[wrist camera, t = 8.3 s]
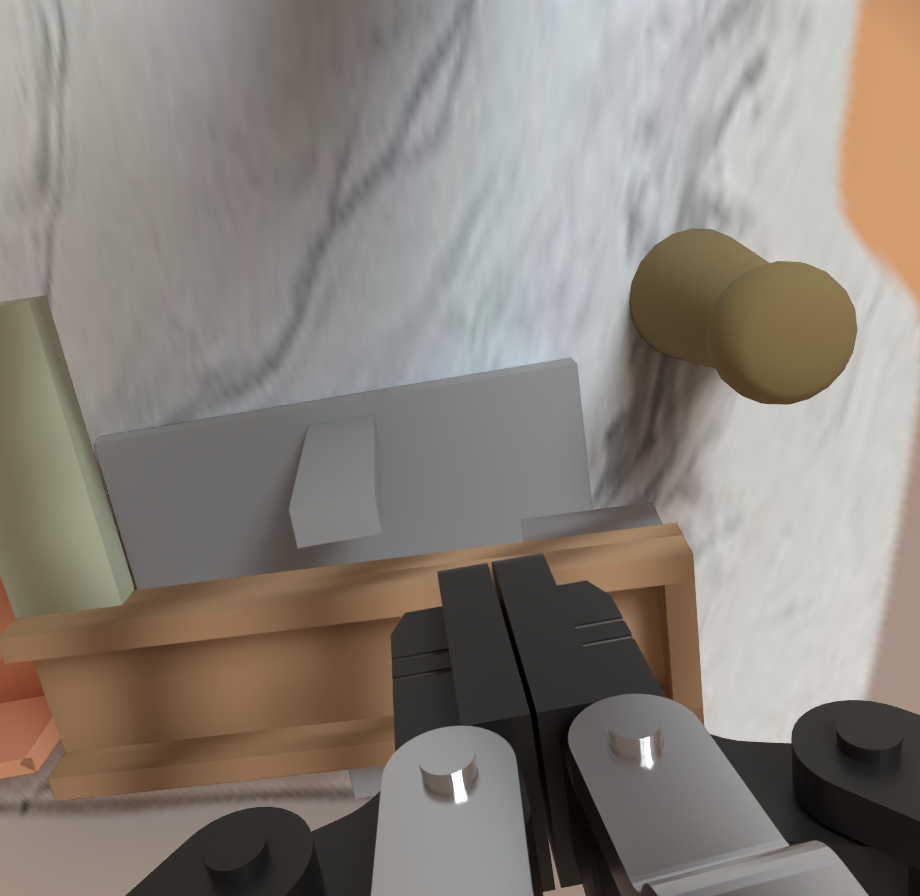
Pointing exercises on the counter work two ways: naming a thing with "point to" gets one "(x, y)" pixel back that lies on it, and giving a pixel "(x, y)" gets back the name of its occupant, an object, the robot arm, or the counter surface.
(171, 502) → the chute stand
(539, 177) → the counter surface
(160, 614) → the chute
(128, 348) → the counter surface
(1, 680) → the orange octagonal bowl
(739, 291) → the olive green pawn
